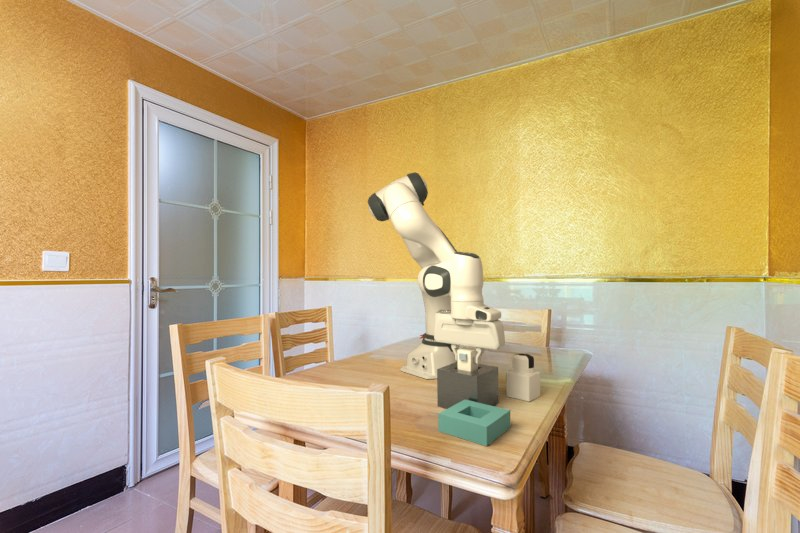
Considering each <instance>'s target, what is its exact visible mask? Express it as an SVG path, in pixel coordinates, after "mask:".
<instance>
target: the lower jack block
mask: <svg viewBox="0 0 800 533" xmlns="http://www.w3.org/2000/svg"><path fill="white" fill-rule="evenodd" d="M437 418H438V420H437V422H438V432H439V433H443V434H445V435H450V436H453V437H456V438H459V439H463V440H466V441H469V442H472V443H475V444H478V445H481V446H484V447H488V446H489V445H490V444H492V443H493V442H495V440H497V439H498V438H499V437H500V436H502V435H503V434H504V433H506V432H507V431H508V430H510V429H511V410H510V409H507V408H503V407H498V406H490V405H486V404H482V403H478V402H474V401H469V400H463V401H461V402H459V403H457V404H455V405H453V406H452V407H450V408H448V409H446V408H445V410H443V411H441V412H438V414H437Z"/></svg>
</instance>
